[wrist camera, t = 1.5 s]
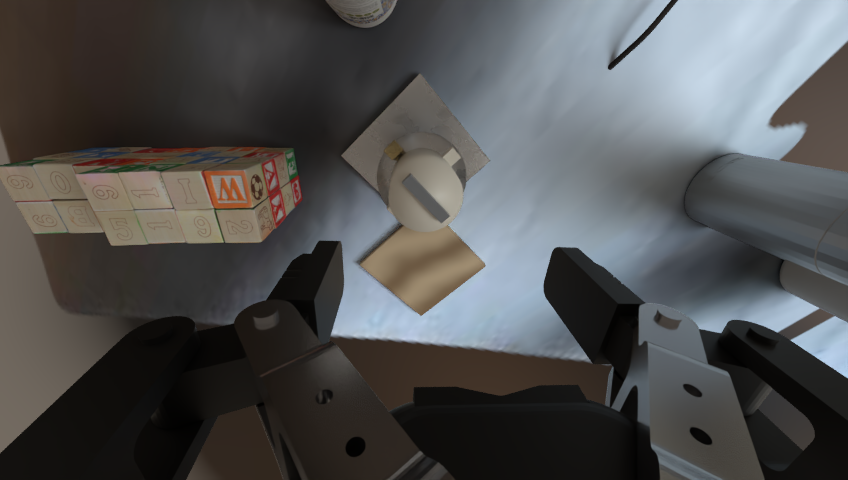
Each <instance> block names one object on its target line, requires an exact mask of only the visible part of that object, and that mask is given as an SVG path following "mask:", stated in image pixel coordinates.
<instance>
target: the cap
mask: <svg viewBox="0 0 848 480" xmlns="http://www.w3.org/2000/svg"><path fill="white" fill-rule="evenodd" d="M460 158H461V157H460V155H459V154H458V153H457V152H456V151H455V149H454V148H453V147H452V146H451V147H450V148H449V149H448V150H447V151H446V152H445V153H444V154H443V155H441V154H440V153H438V152H436V151H434V150H432V149H427V148H418V149H413V150H410V151H408V152H406V153H405V154H403V155H402V156H401V157H400V158H399V159H398V160H397V162H396V163H395V165H394V167H393V170H392V174H391V181H390V187H389V205H388V206H387V210H388V211H389V212H391V213H392V214H393V215H394V216H395V218H396V219H397V220H398V221H399V222H400V223H401V224H402V225H404V226H405V227H407V228H409V229H411V230H414V231H418V232H432V231H436V230H439V229H441V228H443V227H445V226H447V225H448V224H449V223H451V222H452V221H453V220H454V219H455V217H456V216H457V215H458V213H459V211H460V209H461V206H462V202H463V188H462V184H461V182H460V179H459V178H458V176H457V174H456V173H455V172H454V170H453V169H452V167H451V166H452V165H453V164H455V163H456V162H457V161H458V160H459V159H460Z"/></svg>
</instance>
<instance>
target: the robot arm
mask: <svg viewBox="0 0 848 480" xmlns="http://www.w3.org/2000/svg"><path fill="white" fill-rule="evenodd" d="M685 209H686V212H687V214H688V215H689V216H690V217H691V218H692V219H693V220H695V221H698V222H700V223H702V224H705V225H707V226H708V227H709V228H711V229H714V230H716V231H718V232H721V233H723V234H725V235H728V236H730V237H732V238H735V239H737V240H739V241H742V242H744V243H746V244H749V245H751V246H753V247H756V248H758V249H760V250H762V251H765V252H767V253H769V254H772V255H774V256H776V257H779V258H781V259H784V260H788V261H791V262H793V263H795V264H798V265H800V266H802V267H805V268H807V269H809V270H812V271H814V272H816V273H819V274H821V275H824V276H826V277H829V278H831V279H833V280H836V281H838V282H840V283H843V284H845V285H847V286H848V172H843V171H837V170H831V169H825V168H819V167H813V166H808V165H802V164H796V163H790V162H785V161H779V160H773V159H767V158H762V157H756V156H750V155H744V154H729V155H725V156H722V157H720V158H717V159H715V160H714V161H712V162H711V163H709V164H708V165H706V166H705V167H704V168H703V169H702V170H701V171H700V172H699V173H698V174H697V175H696V176H695V177H694V179H693V180H692V182H691V183H690V185H689V187H688V189H687V192H686V196H685ZM343 288H344V273H343V257H342V244H341V242H340V241H318V243H317V245H316V247H315V248H314V250H313V252H312V254H302V255H300V256H299V257H297V258H296V259H294V260H293V261H292V262H291V263H290V265H289V266H288V268H287V271H285V272H284V274H283V275H282V278H280V280H279V282H278V283H277V285H276V286H275V288H274V289H273V291H272V292H271V294H270V295H269V297H268V298H267V300H266V301H261V302H258V303H255V304H253V305H251V306H249V307H247V308H246V309H244V310H243V311H241V312H240V313H239V314H238V316H237V317H236V319H235V321H234V324H230V325H226V326H221V327H216V328H211V329H206V330H201V331H197V329H196V326H195V323H194V321H193V320H192V319H190V318H187V317H182V316H172V317H165V318H161V319H157V320H154V321H151V322H148V323H146V324H144V325H141V326H139V327H137V328H136V329H134V330H132V331H131V332H129V333H128V334H127V335H125V336H124V337H123V338H122V339H121V340H120V341H119V342H118V343H117V344H116V345H115V346H113V347H112V348H111V349H110V350H109V351H108V352H107V353H106V354H105V355H104V356H103V357H102V358H101V359H100V360H99V361H98V362H97V363H96V364H94V365H93V366H92V367H91V368H90V369H89V370H88V371H87V372H86V373H85V374H84V375H83V376H82V377H81V378H80V379H79V380H78V381H76V382H75V383H74V384H73V385H72V386H71V387H70V388H69V389H68V390H67V391H66V392H65V393H64V394H63V395H62V396H60V397H59V398H58V399H57V400H56V401H55V402H54V403H53V404H52V405H51V406H50V407H49V408H48V409H47V410H46V411H45V412H44V413H42V414H41V415H40V416H39V417H38V418H37V419H36V420H35V421H34V422H33V423H32V424H31V425H30V426H29V427H28V428H27V429H26V430H24V432H22V434H20V435H19V436H18V437H17V438H16V439H15V440H14V441H13V442H12V443H11V444H10V445H9V446H8V447H7V448H5V450H3V451H2V452H1V453H0V480H186V479H187V477H188V475H189V473H190V471H191V469H192V467H193V465H194V463H195V461H196V459H197V457H198V455H199V453H200V451H201V449H202V447H203V445H204V443H205V441H206V439H207V437H208V435H209V433H210V431H211V429H212V427H213V425H214V423H215V421H216V419H217V417H218V416H219V415H222V414H225V413H228V412H232V411H235V410H239V409H242V408H246V407H249V406H252V405H255V407H256V409H257V412H258V414H259V417H260V419H261V422H262V424H263V427H264V429H265V432H266V434H267V436H268V439H269V442H270V444H271V446H272V449H273V452H274V454H275V457H276V459H277V462H278V465H279V468H280V471H281V474H282V477H283V480H848V378H846V377H845V376H843V375H842V374H840V373H839V372H837V371H836V370H834V369H832V368H831V367H829V366H828V365H826V364H825V363H823V362H822V361H820V360H819V359H817V358H816V357H814V356H813V355H811V354H810V353H808V352H807V351H805V350H804V349H802V348H801V347H799V346H798V345H796V344H795V343H793V342H792V341H790V340H789V339H787V338H786V337H784V336H782V335H781V334H779V333H777V332H775V331H773V330H771V329H768V328H766V327H764V326H761V325H758V324H755V323H752V322H748V321H743V320H731V321H729V322H728V323H727V325H726V326H725V328H724V330H723V331H722V333H716V332H711V331H706V330H701V329H699V328H698V326H697V324H696V323H695V322H694V321H693V320H692V319H690V318H689V317H688V316H686V315H685V314H683V313H681V312H679V311H677V310H675V309H673V308H670V307H667V306H664V305H660V304H654V303H645V302H644V301H642V300H641V299H640V298H639V297H638V296H637V295H635V294H634V293H633V292H632V291H631V290H630V289H628V288H627V287H626V286H625V285H624V284H621V282H620V281H619V280H618V279H617V278H615V277H613V275H612V274H611V273H610V272H608V271H607V270H606V269H605V268H604V267H602V266H600V265H598V264H596V263H594V262H593V261H592V260H591V259H590V258H589V257H587V256H586V255H585V254H584V253H583V252H582V251H581V250H579V249H578V248H566V247H557V248H555V249H554V250H553V252H552V255H551V258H550V262H549V266H548V269H547V273H546V277H545V280H544V294H545V297H546V298H547V300H548V301H549V303H550V304H551V306H552V307H553V308H554V310H555V311H556V313H557V314H558V315H559V317H560V318H561V320H562V321H563V322H564V324H565V325H566V327H567V328H568V329H569V331H570V332H571V334H572V335H573V336H574V338H575V339H576V341H577V342H578V343H579V345H580V346H581V348H582V349H583V350H584V352H585V353H586V355H587V356H588V357H589V359H590V360H591V362H592V363H593V364H611V365H612V366H613V367H612V370H611V372H610V375H609V380H608V388H607V396H606V404H605V405H603V404H600V403H597V402H594V401H591V400H587V399H586V397H585V396H584V394H583V393H582V391H581V389H580V387H579V386H578V385H548V386H546V385H544V386H543V385H542V386H536V387H532V388H529V389H525V390H522V391H518V392H515V393H511V394H508V395H504V396H498V395H492V394H487V393H483V392H478V391H473V390H469V389H464V388H459V387H414V393H413V402H410V403H407V404H404V405H402V406H399V407H397V408H395V409H393V410H391V411H388V410H387V408H386V407H385V406H384V404H383V403H382V402H381V401H380V399H379V398H378V397H377V396H376V394H375V393H374V392H373V391H372V389H371V388H370V387H369V385H368V384H367V383H366V382H365V381H364V379H363V378H362V377H361V375H360V374H359V373H358V372H357V370H356V369H355V368H354V366H353V365H352V364H351V363H350V362H349V360H348V359H347V358H346V356H345V355H344V354H343V353H342V351H341V350H340V349H339V348H338V346H337V345H336V344H335V343H333V342H332V341H330V342H329V339H330V335H331V332H332V329H333V325H334V322H335V318H336V315H337V312H338V308H339V305H340V302H341V298H342V295H343ZM772 389H774V390H775V391H776V392H778V393H779V394H780V395H781V396H782V397H784V398H785V399H786V400H787V401H788V402H790V403H791V404H792V405H793V406H794V407H796V408H797V409H798V410H799V411H800V412H802V413H803V414H804V415H805V416H806V417H807V418H808V419H809V420H810V422H811V423H812V425H813V427H814V430H815V438H814V440H813V441H812V442H811V443H810V445H809V446H808V447H807V448H806V449H805V450H804V451H803V450H802V449H800V448H799V447H798V446H797V445H796V444H795V443H794V442H793V441H791V439H790V438H789V437H787V436H786V435H785V434H784V433H783V432H782V431H781V430H780V429H779V428H778V427H777V426H776V425H775V424H774V423H772V422H771V421H770V420H769V419H768V418H767V417H766V416H765V415H764V414H763V413H762V412H761V411H760V410H759V409H757V408H758V407H759V406H760V405H761V403H762V402H763V401H764V399H765V398H766V397H767V396H768V394H769V393H770V392H771V391H772Z"/></svg>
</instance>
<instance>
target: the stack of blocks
mask: <svg viewBox="0 0 848 480" xmlns="http://www.w3.org/2000/svg"><path fill="white" fill-rule="evenodd" d="M0 179H1V181H2V183H3V184H4V186H5V188H6V190H7V191H8V193H9V195H10V197H11V198H12V199H13V201H15V202H16V205H17V206H18V208H19V210H20V212H21V213H22V215H23V217H24V218H25V220H26V221H27V223H28V225H29V227H30V228H31V230H32V232H33V233H34V234H44V233H67V232H70V233H94V232H105V234H106V236H107V238H108V240H109V242H110V244H111V245H112V246H116V245H144V244H149V243H183V242H187V243H222V242H226V243H256V242H262V241H263V240H264V239H265V238H266V237H267V236H268V235H269V234H270V232H271V231H272V230H273V229H274V228H277V227H278V226H279V225H280V224H281V223H282V221H284V219H285V218H286V216H287V215H288V214H289V213H290V212H291V211H292V210H293V209H294V208H295V207H296V206H297V205H298V204H299V203H300V202H301V201H302V194H301V188H300V182H299V176H298V173H297V166H296V160H295V154H294V149H293V148H266V147H208V148H180V149H179V148H154V149H152V148H151V147H121V148H89V149H84V150H78V151H72V152H67V153H59V154H53V155H48V156H42V157H36V158H33V160H28V161H22V162H16V163H11V164H4V165H0Z"/></svg>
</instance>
